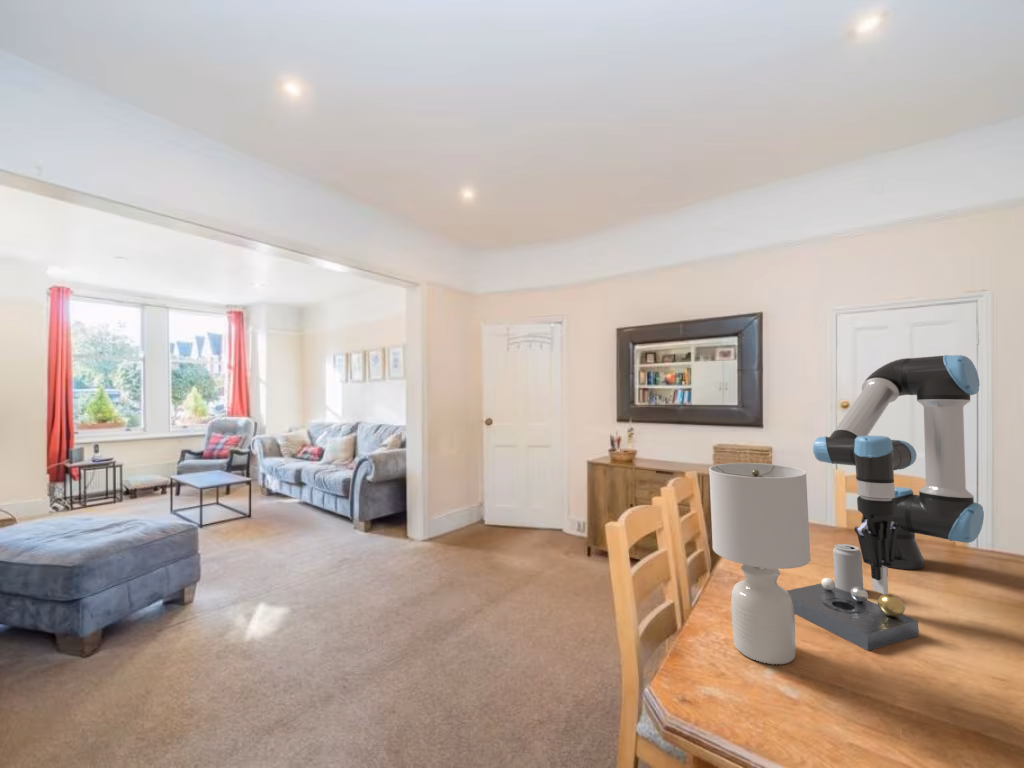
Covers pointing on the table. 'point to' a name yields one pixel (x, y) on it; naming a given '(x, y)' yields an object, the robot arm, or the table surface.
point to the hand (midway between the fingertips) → (880, 591)
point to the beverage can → (847, 567)
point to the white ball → (828, 583)
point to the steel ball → (859, 594)
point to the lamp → (761, 550)
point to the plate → (851, 617)
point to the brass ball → (891, 605)
